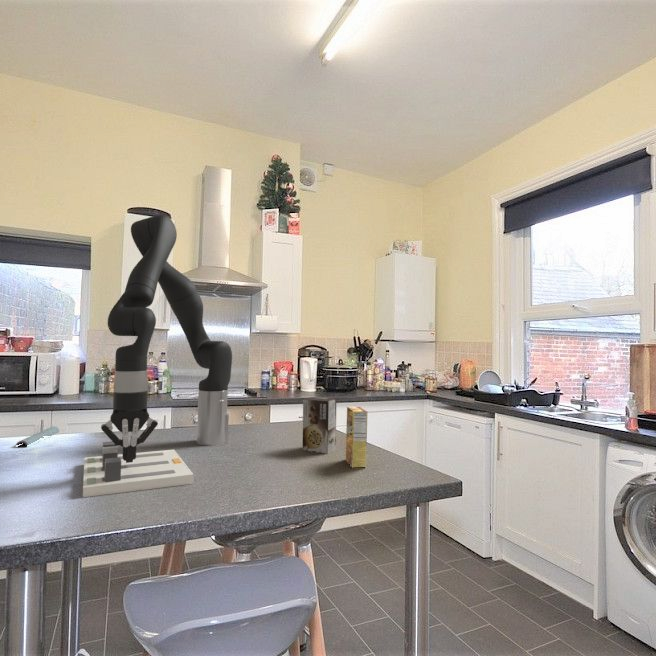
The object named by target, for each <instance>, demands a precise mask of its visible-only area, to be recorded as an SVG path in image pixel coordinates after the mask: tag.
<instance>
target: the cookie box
mask: <svg viewBox="0 0 656 656" xmlns="http://www.w3.org/2000/svg"><path fill="white" fill-rule="evenodd" d="M336 446H337V398H333V397H332V398H331V397H316V396H315V397H313V396H312V397H307V398H304V399H302V448H301V449H302V451H305V450H308V452H312V451H316V452H315V453H319V452H322V453H321V454H326V453H329V454H331V453H332V452H331V451H333V450H335V449H337V447H336ZM335 451H336V450H335ZM330 452H331V453H330ZM333 452H334V451H333Z"/></svg>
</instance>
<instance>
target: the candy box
mask: <svg viewBox="0 0 656 656" xmlns="http://www.w3.org/2000/svg"><path fill="white" fill-rule="evenodd" d="M345 430H346V431H345V433H346V436H345V438H346V439H345V461H346V462H347V464H348V465H349V464H350V465H349V467H352V468H351V469H354V468H353V467H366V466H367V437H368V411H367V410H365V409H363V408H362V407H360V406H347V407H346V429H345Z"/></svg>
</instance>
